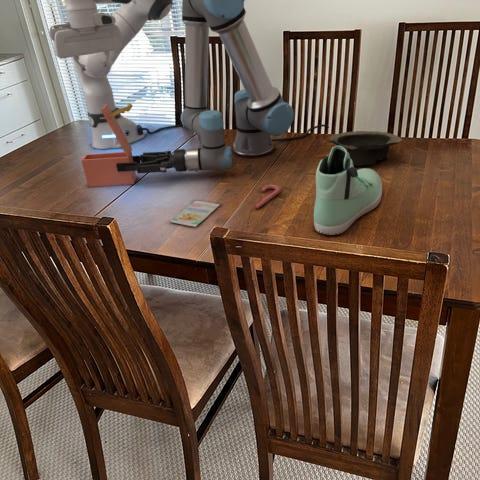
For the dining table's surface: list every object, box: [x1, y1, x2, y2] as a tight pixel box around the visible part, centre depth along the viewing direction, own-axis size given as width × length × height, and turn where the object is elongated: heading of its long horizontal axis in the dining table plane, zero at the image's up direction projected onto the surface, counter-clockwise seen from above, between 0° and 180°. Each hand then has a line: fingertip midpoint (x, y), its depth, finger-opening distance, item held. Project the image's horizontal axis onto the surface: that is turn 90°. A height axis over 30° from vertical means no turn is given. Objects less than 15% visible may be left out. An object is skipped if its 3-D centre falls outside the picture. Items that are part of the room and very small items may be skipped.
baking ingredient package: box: [169, 199, 221, 228], centre depth 142 cm, size 9×1×15 cm
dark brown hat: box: [328, 130, 403, 167], centre depth 168 cm, size 25×25×9 cm
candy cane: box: [254, 184, 282, 209], centre depth 148 cm, size 6×15×2 cm, turn 145°
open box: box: [81, 151, 138, 188], centre depth 165 cm, size 16×5×10 cm, turn 89°
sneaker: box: [313, 145, 383, 236], centre depth 133 cm, size 14×35×20 cm, turn 152°
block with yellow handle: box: [101, 103, 133, 156], centre depth 157 cm, size 17×5×8 cm
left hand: (94, 69), depth 147 cm, fingers open, 6 cm apart
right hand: (119, 164), depth 164 cm, fingers closed on open box, 5 cm apart
